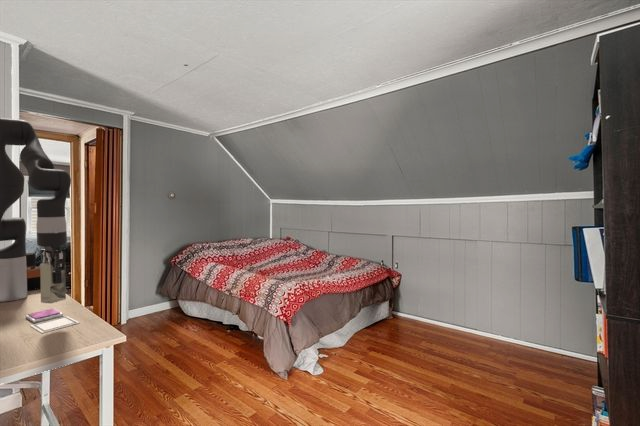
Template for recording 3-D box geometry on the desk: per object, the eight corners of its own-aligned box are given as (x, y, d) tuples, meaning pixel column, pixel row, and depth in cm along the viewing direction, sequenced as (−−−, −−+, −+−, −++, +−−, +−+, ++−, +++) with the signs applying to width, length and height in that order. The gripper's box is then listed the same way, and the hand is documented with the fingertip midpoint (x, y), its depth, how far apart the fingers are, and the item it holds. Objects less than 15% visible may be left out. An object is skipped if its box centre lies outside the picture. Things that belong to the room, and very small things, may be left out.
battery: (22, 289, 146) (21, 267, 145) (41, 286, 151) (40, 265, 151) (24, 291, 143) (23, 269, 143) (44, 288, 148) (43, 266, 148)
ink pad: (25, 318, 113) (25, 314, 113) (53, 311, 119) (53, 307, 119) (34, 323, 108) (33, 319, 108) (62, 316, 115) (62, 312, 115)
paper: (30, 326, 106) (30, 325, 106) (67, 316, 114) (67, 315, 114) (41, 333, 101) (41, 332, 101) (79, 323, 109) (79, 321, 109)
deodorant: (23, 285, 153) (21, 253, 153) (38, 283, 156) (37, 252, 155) (17, 288, 148) (15, 255, 147) (33, 287, 150) (32, 254, 149)
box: (51, 304, 104) (49, 264, 103) (40, 303, 105) (38, 263, 104) (67, 299, 109) (66, 261, 108) (56, 298, 110) (55, 260, 109)
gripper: (29, 230, 107) (31, 281, 107) (46, 233, 99) (47, 288, 100) (57, 228, 113) (58, 276, 114) (75, 231, 105) (76, 282, 106)
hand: (53, 281), depth 107 cm, fingers closed on box, 5 cm apart
